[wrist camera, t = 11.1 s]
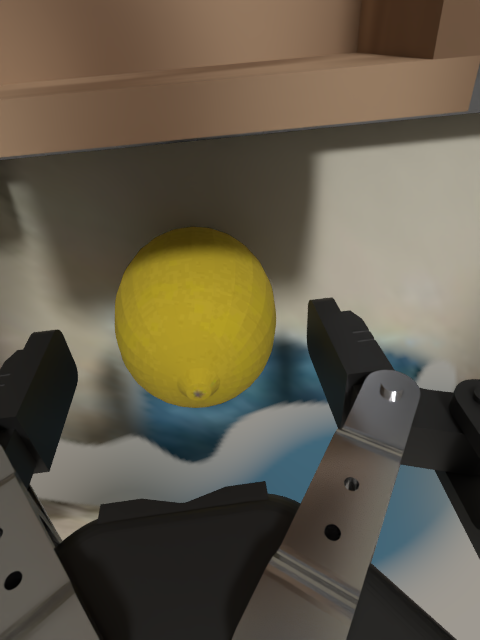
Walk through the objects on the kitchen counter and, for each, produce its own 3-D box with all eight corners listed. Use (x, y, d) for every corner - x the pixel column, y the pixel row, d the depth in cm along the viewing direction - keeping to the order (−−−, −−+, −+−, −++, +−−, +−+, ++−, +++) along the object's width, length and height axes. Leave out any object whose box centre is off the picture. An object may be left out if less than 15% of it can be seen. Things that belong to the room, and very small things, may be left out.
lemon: (104, 229, 16) (46, 360, 9) (230, 174, 15) (260, 276, 9) (168, 327, 19) (157, 475, 13) (274, 286, 18) (320, 421, 12)
